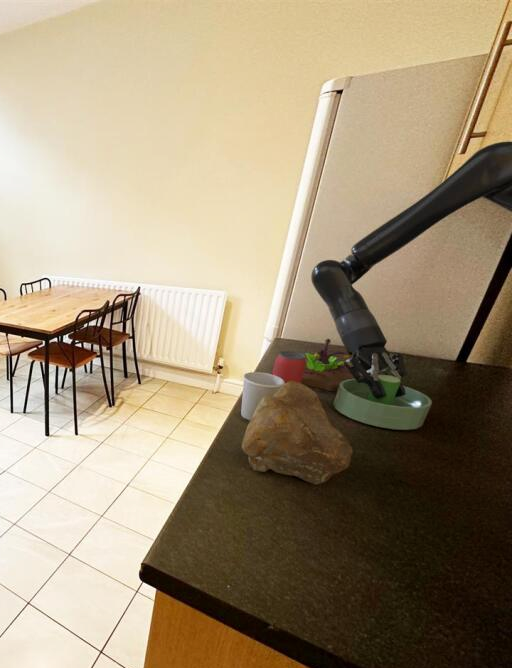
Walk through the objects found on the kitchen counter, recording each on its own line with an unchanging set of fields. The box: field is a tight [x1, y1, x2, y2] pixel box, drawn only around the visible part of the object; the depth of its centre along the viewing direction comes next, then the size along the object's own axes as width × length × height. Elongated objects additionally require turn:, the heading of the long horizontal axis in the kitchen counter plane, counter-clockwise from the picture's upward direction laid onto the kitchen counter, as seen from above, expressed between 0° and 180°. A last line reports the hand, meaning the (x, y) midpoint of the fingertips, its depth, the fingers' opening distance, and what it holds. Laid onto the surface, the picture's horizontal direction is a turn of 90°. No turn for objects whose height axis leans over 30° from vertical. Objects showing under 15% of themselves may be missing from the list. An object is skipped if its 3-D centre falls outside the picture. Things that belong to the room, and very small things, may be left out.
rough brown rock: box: [241, 381, 354, 485], centre depth 79 cm, size 23×17×15 cm
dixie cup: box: [240, 371, 285, 421], centre depth 98 cm, size 8×8×10 cm
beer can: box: [271, 350, 307, 387], centre depth 107 cm, size 7×7×12 cm
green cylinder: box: [367, 374, 402, 405], centre depth 97 cm, size 4×4×9 cm
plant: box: [301, 338, 362, 393], centre depth 118 cm, size 20×20×11 cm
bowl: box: [333, 379, 433, 431], centre depth 98 cm, size 16×16×6 cm
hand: (391, 396), depth 95 cm, fingers closed on green cylinder, 4 cm apart
